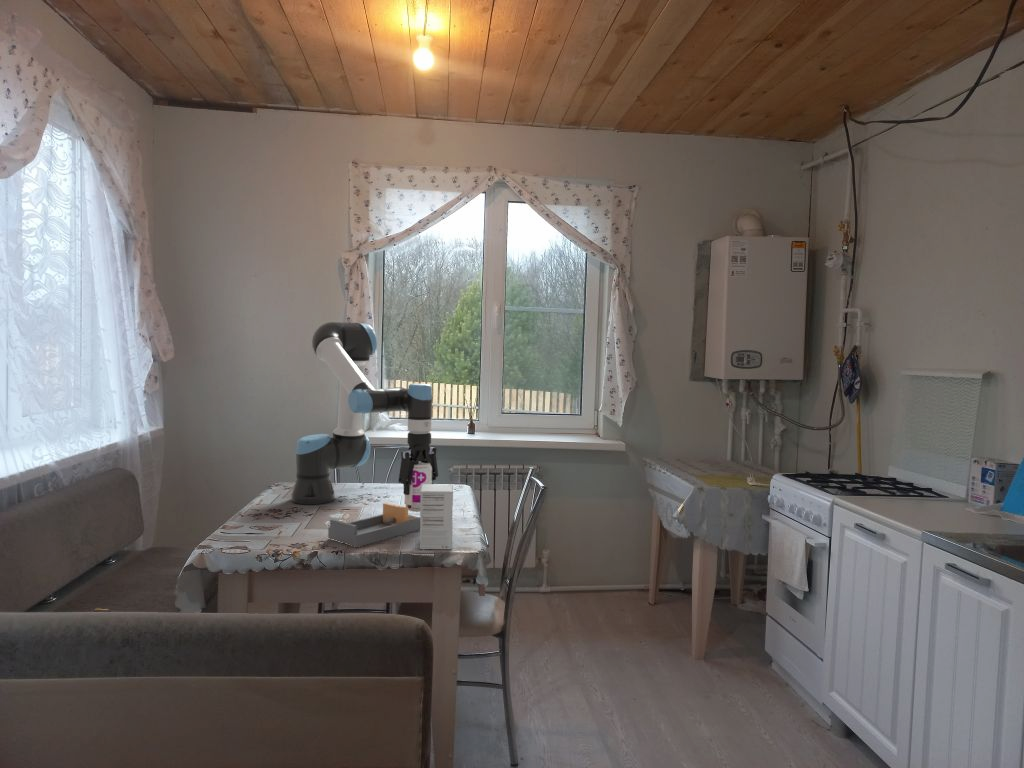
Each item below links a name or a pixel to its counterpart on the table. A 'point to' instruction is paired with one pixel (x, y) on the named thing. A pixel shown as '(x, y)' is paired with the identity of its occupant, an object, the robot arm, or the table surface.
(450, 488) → the supplement box
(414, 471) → the supplement can
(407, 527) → the pusher lane
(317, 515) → the table surface
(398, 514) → the pusher
